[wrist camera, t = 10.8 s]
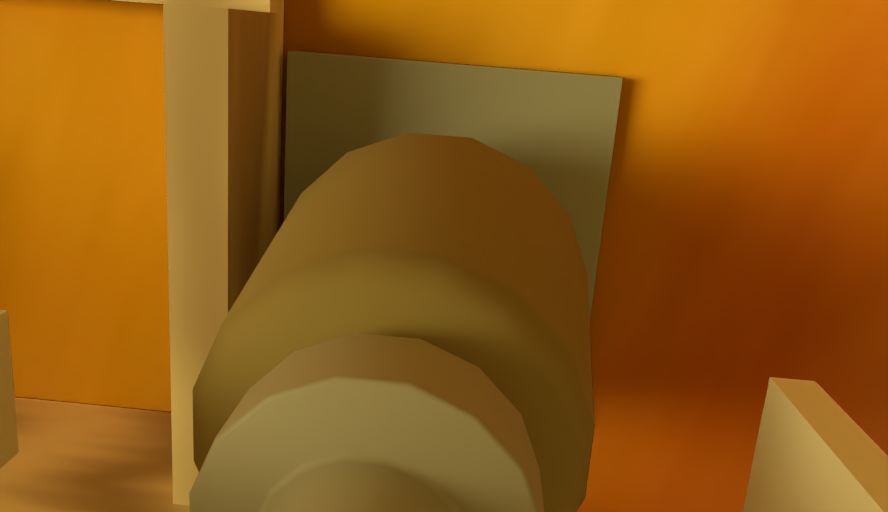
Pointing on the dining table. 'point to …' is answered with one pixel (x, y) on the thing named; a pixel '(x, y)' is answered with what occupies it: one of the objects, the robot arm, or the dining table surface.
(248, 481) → the squeeze bottle
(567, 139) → the mat
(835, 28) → the dining table surface
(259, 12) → the rack
